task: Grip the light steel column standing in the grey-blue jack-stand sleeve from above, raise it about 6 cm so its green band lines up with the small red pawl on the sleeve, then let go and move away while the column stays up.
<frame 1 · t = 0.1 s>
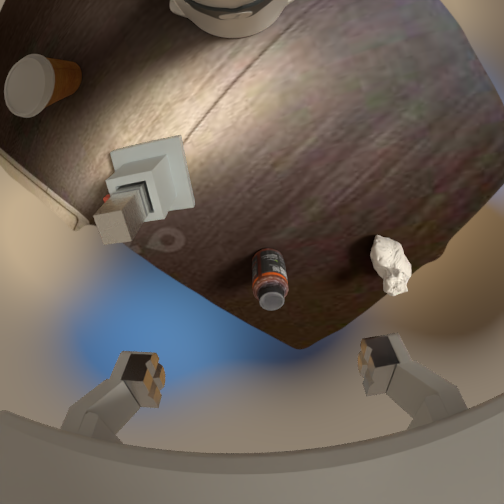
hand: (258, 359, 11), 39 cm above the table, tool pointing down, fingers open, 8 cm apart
column: (134, 199, 39), point 10 cm above the table, slide at 0.0 cm
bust: (383, 251, 55), on the table
disposable coffee cup: (67, 78, 36), on the table
supplement bottle: (267, 259, 56), on the table
stand base: (153, 176, 47), on the table
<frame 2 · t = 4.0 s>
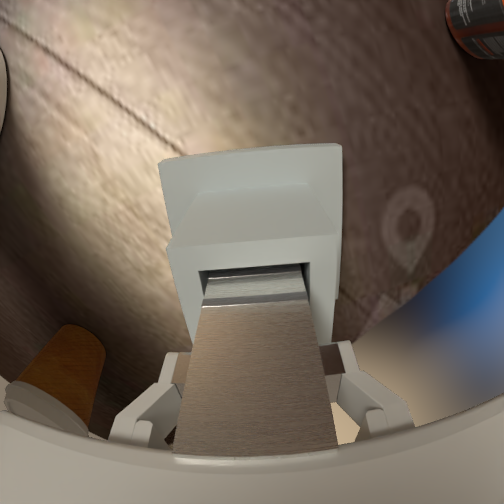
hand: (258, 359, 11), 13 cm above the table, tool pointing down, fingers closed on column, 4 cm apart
column: (258, 312, 14), point 10 cm above the table, slide at 0.0 cm, touching gripper
disposable coffee cup: (82, 343, 29), on the table
supplement bottle: (467, 27, 14), on the table
stand base: (257, 228, 22), on the table
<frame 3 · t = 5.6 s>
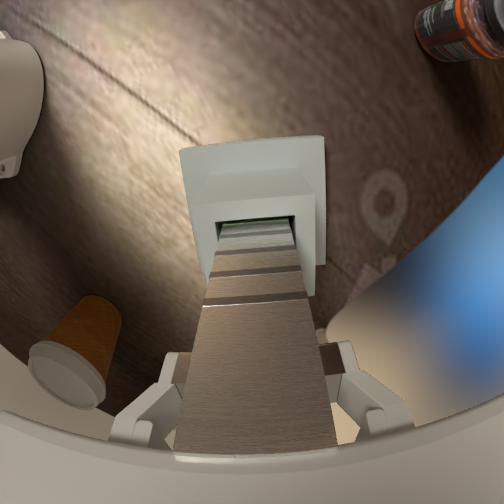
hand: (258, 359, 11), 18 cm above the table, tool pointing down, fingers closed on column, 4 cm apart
column: (258, 311, 14), point 15 cm above the table, slide at 5.6 cm, touching gripper
disposable coffee cup: (100, 313, 34), on the table
supplement bottle: (435, 35, 19), on the table
stand base: (257, 204, 27), on the table
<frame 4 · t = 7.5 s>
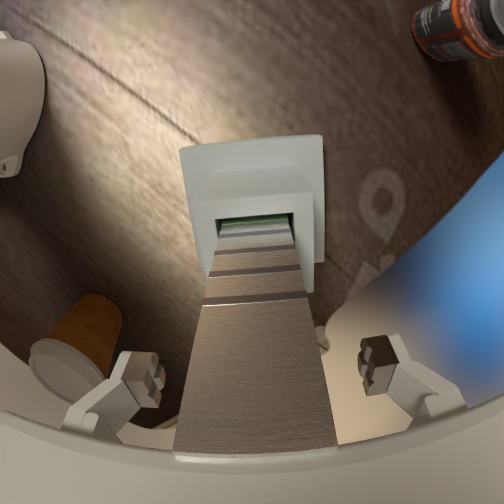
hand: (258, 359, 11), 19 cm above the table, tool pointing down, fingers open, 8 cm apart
column: (258, 311, 14), point 16 cm above the table, slide at 5.9 cm
disposable coffee cup: (101, 311, 34), on the table
supplement bottle: (433, 35, 19), on the table
stand base: (256, 202, 28), on the table
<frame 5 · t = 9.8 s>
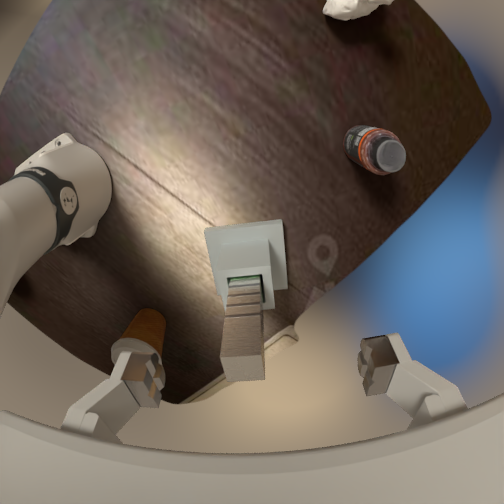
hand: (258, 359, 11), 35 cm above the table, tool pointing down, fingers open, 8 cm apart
column: (245, 319, 36), point 16 cm above the table, slide at 5.9 cm
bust: (349, 2, 30), on the table
disposable coffee cup: (151, 319, 57), on the table
supplement bottle: (360, 143, 41), on the table
stand base: (248, 257, 49), on the table
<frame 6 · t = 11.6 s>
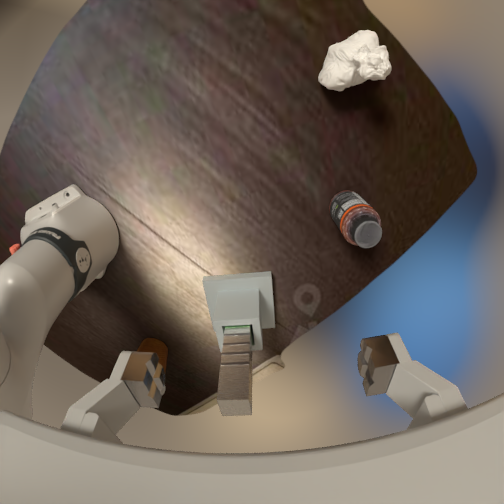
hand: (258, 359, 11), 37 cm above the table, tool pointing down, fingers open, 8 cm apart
column: (237, 363, 42), point 16 cm above the table, slide at 5.9 cm
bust: (346, 64, 36), on the table
disposable coffee cup: (154, 347, 63), on the table
supplement bottle: (345, 206, 47), on the table
stand base: (240, 301, 56), on the table
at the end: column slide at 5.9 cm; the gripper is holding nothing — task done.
